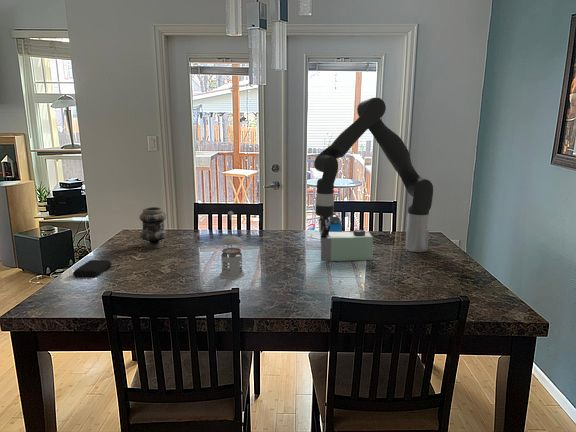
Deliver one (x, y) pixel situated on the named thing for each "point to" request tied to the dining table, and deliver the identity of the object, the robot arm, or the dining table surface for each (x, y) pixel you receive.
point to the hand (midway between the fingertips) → (323, 243)
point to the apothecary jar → (153, 227)
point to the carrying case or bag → (92, 268)
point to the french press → (231, 258)
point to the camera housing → (349, 234)
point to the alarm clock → (334, 224)
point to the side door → (346, 248)
